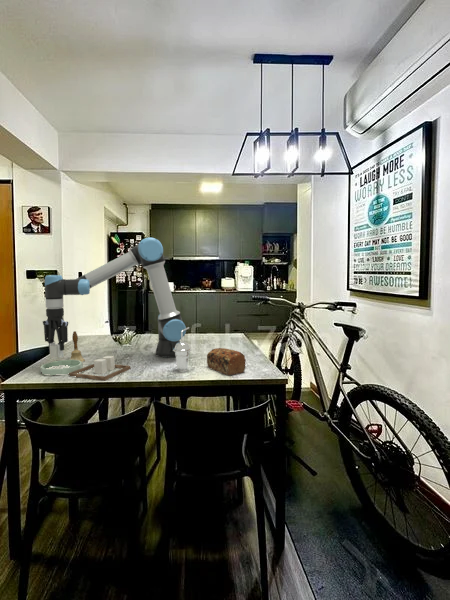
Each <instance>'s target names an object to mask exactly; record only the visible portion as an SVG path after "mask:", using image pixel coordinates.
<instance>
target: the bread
mask: <svg viewBox="0 0 450 600" xmlns="http://www.w3.org/2000/svg"><path fill="white" fill-rule="evenodd" d="M246 362H247V360H246V357H245V354H244V353H242V352H241V351H238V350H235V349H229V348H225V347H222V348H221V347H218V348H212V349H211V350H210V351H209V352H208V353H207V354H206V366H207V368H208V367H209V369H211V370H214V371H216V372H218V373H221V374H223V375H227V376H234V375H239V374H243V373H245V370H246Z"/></svg>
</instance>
